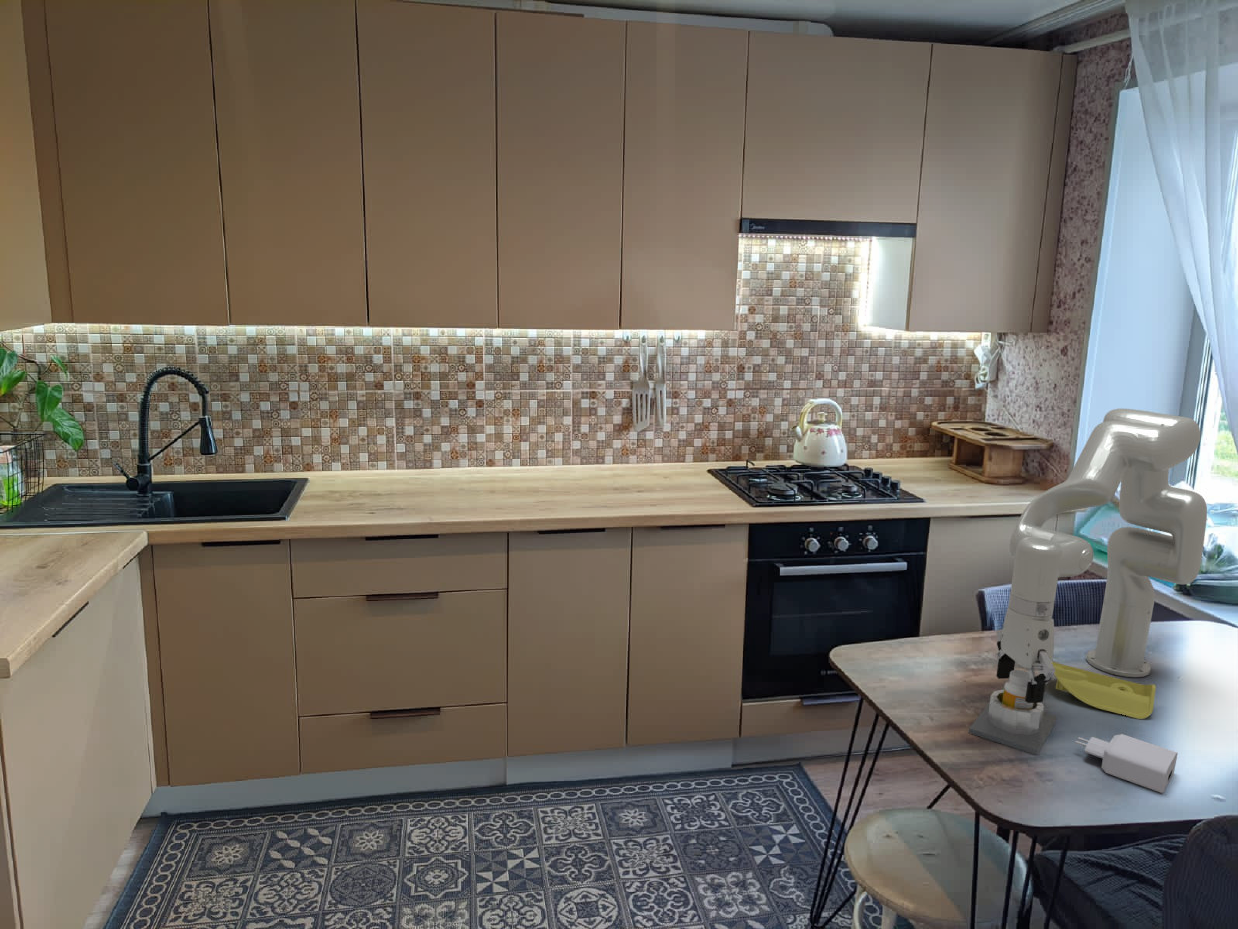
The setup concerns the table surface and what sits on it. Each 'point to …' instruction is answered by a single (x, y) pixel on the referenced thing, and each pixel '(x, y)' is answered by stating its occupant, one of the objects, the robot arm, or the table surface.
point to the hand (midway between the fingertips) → (1018, 689)
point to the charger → (1134, 760)
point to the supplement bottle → (1017, 690)
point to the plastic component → (1106, 691)
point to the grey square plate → (1013, 725)
